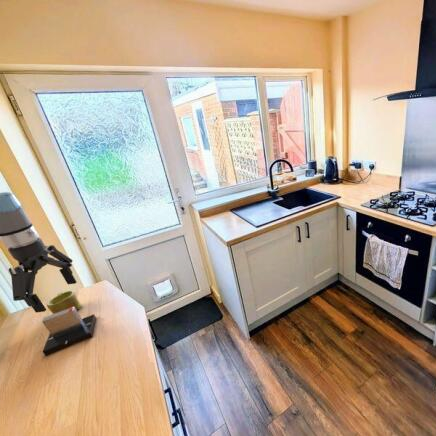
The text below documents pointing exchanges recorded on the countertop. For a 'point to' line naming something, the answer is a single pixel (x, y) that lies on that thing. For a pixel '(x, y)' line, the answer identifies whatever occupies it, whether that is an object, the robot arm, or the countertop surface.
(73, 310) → the tap handle
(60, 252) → the robot arm
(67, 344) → the base
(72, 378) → the countertop surface
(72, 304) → the mug
